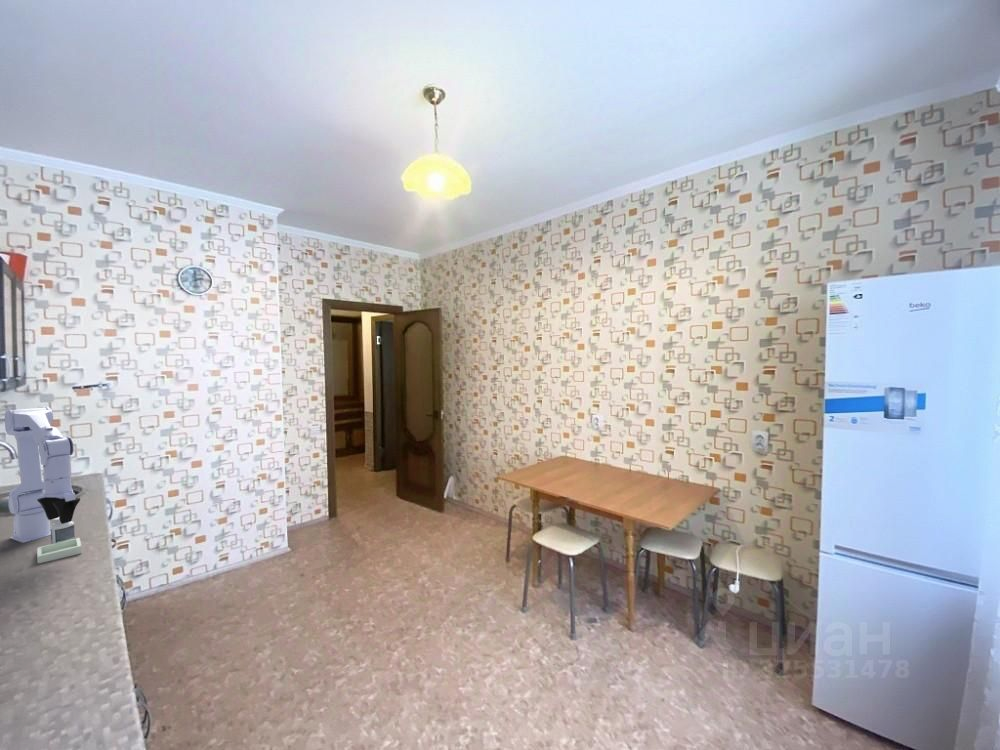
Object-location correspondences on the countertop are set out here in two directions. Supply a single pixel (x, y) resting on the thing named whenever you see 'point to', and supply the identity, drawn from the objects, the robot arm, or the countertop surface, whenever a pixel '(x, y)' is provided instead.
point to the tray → (59, 550)
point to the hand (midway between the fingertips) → (59, 520)
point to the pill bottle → (62, 531)
